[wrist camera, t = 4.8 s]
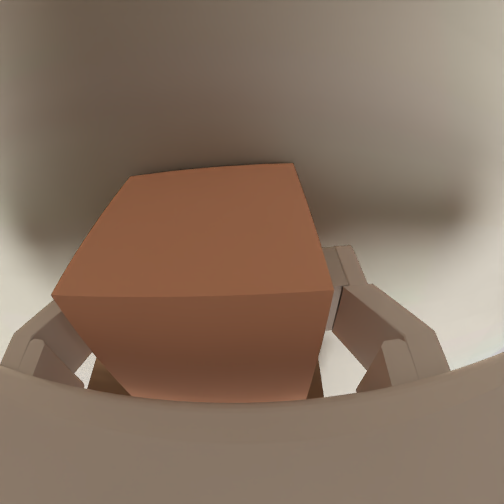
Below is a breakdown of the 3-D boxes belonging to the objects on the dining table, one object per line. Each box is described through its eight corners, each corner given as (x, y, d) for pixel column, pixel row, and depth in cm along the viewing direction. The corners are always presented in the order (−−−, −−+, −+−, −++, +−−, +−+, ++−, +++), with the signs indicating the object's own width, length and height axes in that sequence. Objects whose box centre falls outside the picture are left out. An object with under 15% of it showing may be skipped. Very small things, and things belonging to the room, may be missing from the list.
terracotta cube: (130, 176, 8) (51, 294, 4) (292, 163, 8) (334, 289, 4) (165, 289, 11) (138, 403, 8) (289, 285, 11) (303, 405, 7)
